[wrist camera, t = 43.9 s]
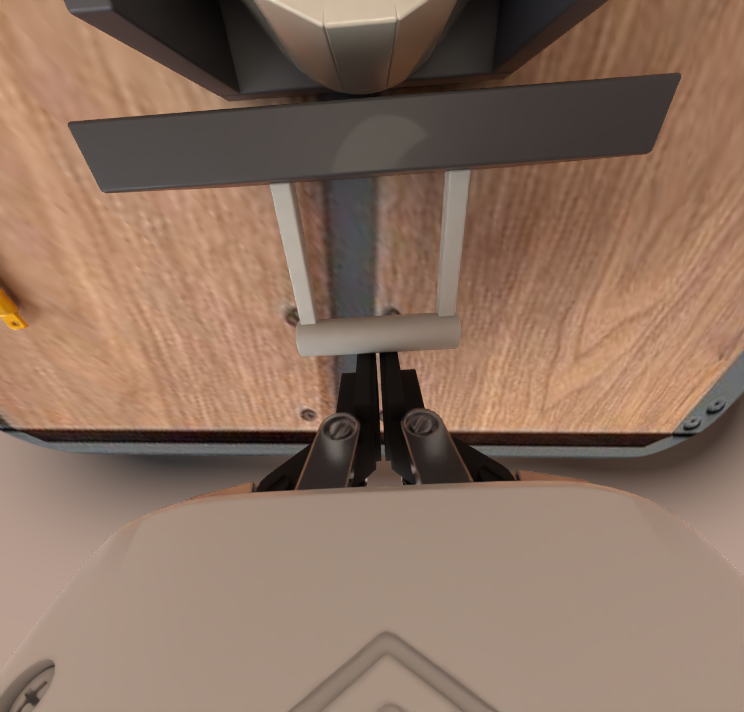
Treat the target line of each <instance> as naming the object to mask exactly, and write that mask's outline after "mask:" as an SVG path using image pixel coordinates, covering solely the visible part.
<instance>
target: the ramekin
mask: <svg viewBox="0 0 744 712" xmlns="http://www.w3.org/2000/svg"><path fill="white" fill-rule="evenodd" d="M241 1H242V2H243V3H244V5H245V6H246V8H247V9H248V10H249V12H250V13H251V14H252V16H253V17H254V19H255V20H256V21H257V23H258V24H259V26H260V27H261V28H262V30H263V31H264V32H265V33H266V34H267V35H268V36H269V37H270V39H271V40H272V41H273V42H274V43H275V44H276V46H277V47H278V48H279V49H280V51H281V52H282V53H283V54H284V56H285V57H286V58H287V59H288V60H289V61H290V62H291V63H292V64H293V65H294V66H295V67H296V68H297V69H298V70H300V71H301V72H302V73H304V74H305V75H306V76H308V77H309V78H310V79H312V80H313V81H315V82H317V83H319V84H321V85H322V86H324V87H327V88H329V89H332V90H335V91H338V92H342V93H348V94H370V93H376V92H380V91H383V90H386V89H388V88H391V87H393V86H395V85H397V84H399V83H401V82H402V81H404V80H406V79H407V78H408V77H410V76H411V75H412V74H414V73H415V72H416V71H418V70H419V69H420V68H421V67H422V66H423V65H424V64H425V63H426V62H427V61H428V60H429V59H430V57H431V56H432V55H433V53H434V52H435V51H436V50H437V48H438V47H439V46H440V45H441V43H442V42H443V40H444V38H445V37H446V35H447V34H448V32H449V30H450V29H451V27H452V25H453V24H454V22H455V21H456V20H457V18H458V17H459V15H460V14H461V12H462V11H463V9H464V7H465V5H466V4H467V2H468V0H241Z"/></svg>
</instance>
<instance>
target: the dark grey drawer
mask: <svg viewBox="0 0 744 712" xmlns="http://www.w3.org/2000/svg"><path fill="white" fill-rule="evenodd" d="M607 1H608V0H468V2H467V4H466V5H465V7H464V9H463V11H462V12H461V14H460V15H459V17H458V18H457V20H456V21H455V22H454V24H453V25H452V27H451V29H450V30H449V32H448V34H447V35H446V37H445V38H444V40H443V42H442V43H441V45H440V46H439V47H438V48H437V50H436V51H435V52H434V53H433V55H432V56H431V57H430V59H429V60H428V61H427V62H426V63H425V64H424V65H423V66H422V67H421V68H420V69H419V70H418V71H416V72H415V73H414V74H412V75H411V76H410V77H408V78H407V79H406V80H404V81H402V82H401V83H399V84H397V85H395V86H393V87H391V88H399V87H411V86H423V85H435V84H448V83H460V82H472V81H485V80H497V79H505V78H506V77H508V76H509V75H510V74H512V73H513V72H514V71H515V70H517V69H518V68H520V67H521V66H522V65H524V64H525V63H526V62H528V61H529V60H530V59H532V58H533V57H534V56H535V55H537V54H538V53H539V52H541V51H542V50H543V49H545V48H546V47H547V46H549V45H550V44H551V43H553V42H554V41H555V40H557V39H558V38H559V37H561V36H562V35H563V34H565V33H566V32H567V31H569V30H570V29H571V28H572V27H574V26H575V25H576V24H578V23H579V22H580V21H582V20H583V19H584V18H586V17H587V16H588V15H590V14H591V13H592V12H594V11H595V10H596V9H598V8H599V7H600V6H602V5H603V4H604V3H606V2H607ZM64 2H65V4H66V7H67V9H68V10H69V12H70V13H71V14H72V15H74V16H76V17H78V18H80V19H81V20H83V21H85V22H87V23H89V24H90V25H92V26H94V27H96V28H98V29H99V30H101V31H103V32H105V33H107V34H108V35H110V36H112V37H114V38H116V39H117V40H119V41H121V42H123V43H125V44H126V45H128V46H130V47H132V48H134V49H135V50H137V51H139V52H141V53H143V54H144V55H146V56H148V57H150V58H152V59H153V60H155V61H157V62H159V63H161V64H162V65H164V66H166V67H168V68H170V69H171V70H173V71H175V72H177V73H179V74H180V75H182V76H184V77H186V78H188V79H189V80H191V81H193V82H195V83H197V84H198V85H200V86H202V87H204V88H206V89H207V90H209V91H211V92H213V93H215V94H216V95H218V96H221V97H223V98H224V99H226V100H228V101H239V100H251V99H263V98H276V97H288V96H300V95H312V94H325V93H337V92H338V91H335V90H332V89H329V88H327V87H324V86H322V85H321V84H319V83H317V82H315V81H313V80H312V79H310V78H309V77H308V76H306V75H305V74H304V73H302V72H301V71H300V70H298V69H297V68H296V67H295V66H294V65H293V64H292V63H291V62H290V61H289V60H288V59H287V58H286V57H285V56H284V54H283V53H282V52H281V51H280V49H279V48H278V47H277V46H276V44H275V43H274V42H273V41H272V40H271V39H270V37H269V36H268V35H267V34H266V33H265V32H264V31H263V30H262V28H261V27H260V26H259V24H258V23H257V21H256V20H255V19H254V17H253V16H252V14H251V13H250V12H249V10H248V9H247V8H246V6H245V5H244V3H243V2H242V1H241V0H64ZM680 79H681V74H680V73H667V74H655V75H642V76H630V77H618V78H605V79H593V80H580V81H568V82H556V83H543V84H531V85H518V86H506V87H493V88H481V89H469V90H456V91H444V92H431V93H419V94H407V95H394V96H382V97H369V98H357V99H344V100H332V101H320V102H307V103H295V104H282V105H270V106H258V107H245V108H233V109H220V110H208V111H195V112H183V113H171V114H158V115H146V116H133V117H121V118H109V119H96V120H84V121H71V122H69V123H68V127H69V129H70V131H71V133H72V135H73V137H74V138H75V140H76V142H77V144H78V146H79V148H80V150H81V152H82V154H83V156H84V158H85V160H86V162H87V164H88V166H89V168H90V170H91V172H92V174H93V176H94V178H95V180H96V182H97V184H98V186H99V188H100V189H101V191H102V192H105V193H120V192H141V191H161V190H182V189H202V188H222V187H240V186H254V185H268V184H270V189H271V193H272V198H273V202H274V207H275V211H276V216H277V220H278V225H279V229H280V234H281V238H282V243H283V247H284V252H285V256H286V261H287V265H288V270H289V274H290V279H291V283H292V288H293V292H294V297H295V301H296V306H297V310H298V315H299V319H300V321H299V322H298V323H297V327H296V344H297V349H298V352H299V354H300V355H301V356H303V357H307V356H326V355H345V354H363V353H382V352H401V351H419V350H438V349H456V348H458V347H459V345H460V341H461V321H460V318H459V315H458V313H457V312H455V310H456V301H457V292H458V283H459V274H460V265H461V256H462V247H463V238H464V229H465V221H466V212H467V203H468V194H469V185H470V176H471V170H476V169H490V168H504V167H515V166H526V165H536V164H547V163H558V162H568V161H579V160H589V159H600V158H610V157H621V156H631V155H642V154H647V153H649V152H651V151H652V149H653V147H654V144H655V142H656V139H657V137H658V134H659V132H660V129H661V127H662V124H663V122H664V119H665V117H666V114H667V112H668V109H669V106H670V104H671V101H672V99H673V96H674V94H675V91H676V89H677V86H678V84H679V81H680ZM435 172H446V173H445V184H444V198H443V212H442V226H441V241H440V255H439V269H438V284H437V298H436V312H437V313H422V314H405V315H387V316H370V317H352V318H335V319H318V317H319V316H318V310H317V305H316V299H315V294H314V288H313V283H312V277H311V271H310V266H309V260H308V255H307V249H306V244H305V238H304V233H303V227H302V222H301V216H300V211H299V205H298V199H297V194H296V188H295V184H294V183H296V182H310V181H324V180H337V179H351V178H365V177H379V176H393V175H407V174H421V173H435Z"/></svg>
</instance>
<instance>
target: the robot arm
mask: <svg viewBox="0 0 744 712" xmlns="http://www.w3.org/2000/svg"><path fill="white" fill-rule="evenodd" d="M379 354H380V372H381V391H382V408H383V425H384V441H385V457H386V461H391V466H392V469H393V470H394V471H395V472H397V473H398V474H399V475H400V476H401V477H402V484H403V485H398V486H375V487H367V477H368V476H369V475H370V474H371V473H372V472H373V471H374V470H376V461H381V441H380V416H379V393H378V379H377V365H376V353H363V354H357V366H356V373H342V376H341V383H340V390H339V397H338V404H337V411H336V413H335V414H332V415H330V416H328V417H327V418H326V419H324V420H323V421H322V423H321V425H320V427H319V429H318V432H317V434H316V437H315V439H314V442H312V443H311V444H310V445H308V446H307V447H306V448H304V449H303V450H302V451H300V452H299V453H297V454H296V455H295V456H293V457H292V458H291V459H289V460H288V461H286V462H285V463H284V464H282V465H281V466H280V467H278V468H277V469H276V470H274V471H273V472H271V473H270V474H269V475H267V476H266V477H265V478H264V479H263V480H262V481H261V482H260V483H259V484H254V482H249V483H245V484H242V485H238V486H234V487H230V488H226V489H222V490H218V491H215V492H210V493H206V494H203V495H199V496H195V497H193V498H190V499H188V500H186V501H183V502H180V503H176V504H172V505H169V506H166V507H163V508H161V509H158V510H156V511H153V512H150V513H148V514H145V515H143V516H141V517H139V518H137V519H135V520H133V521H132V522H130V523H128V524H126V525H124V526H123V527H121V528H120V529H119V530H117V531H116V532H115V533H113V534H112V535H111V536H110V537H109V538H108V539H106V540H105V541H104V542H103V543H102V544H101V545H100V546H99V547H98V548H97V549H96V550H95V551H94V553H93V554H92V555H91V556H90V557H89V558H88V559H87V560H86V562H85V563H84V564H83V565H82V566H81V568H80V569H79V570H78V571H77V572H76V574H75V575H74V576H73V577H72V578H71V579H70V581H69V582H68V583H67V584H66V586H65V587H64V588H63V589H62V591H61V592H60V593H59V594H58V596H57V597H56V598H55V599H54V601H53V602H52V603H51V604H50V606H49V607H48V609H47V610H46V611H45V612H44V614H43V615H42V616H41V618H40V619H39V620H38V622H37V623H36V624H35V625H34V627H33V628H32V629H31V631H30V632H29V633H28V635H27V636H26V637H25V639H24V640H23V641H22V643H21V644H20V645H19V647H18V648H17V649H16V650H15V652H14V653H13V655H12V656H11V657H10V658H9V660H8V661H7V662H6V664H5V665H4V667H3V668H2V669H1V671H0V712H744V576H743V575H742V574H741V573H740V572H739V571H738V570H737V569H736V568H735V567H734V566H733V565H732V564H731V563H730V562H729V561H728V560H727V559H726V558H725V557H724V556H723V555H722V554H721V553H720V552H719V551H718V550H717V549H716V548H715V547H714V546H713V545H712V544H710V543H709V542H708V541H707V540H706V539H705V538H704V537H703V536H702V535H701V534H700V533H698V532H697V531H696V530H695V529H694V528H693V527H692V526H690V525H689V524H688V523H687V522H685V521H684V520H683V519H681V518H680V517H679V516H677V515H676V514H675V513H673V512H672V511H670V510H669V509H667V508H665V507H663V506H661V505H660V504H658V503H656V502H653V501H651V500H648V499H646V498H644V497H641V496H637V495H635V494H632V493H629V492H625V491H622V490H618V489H614V488H611V487H607V486H601V485H595V484H592V483H590V482H588V481H585V480H581V479H575V478H569V477H563V476H556V475H550V474H543V473H536V472H530V471H524V470H517V472H516V473H515V472H510V471H509V470H508V469H507V468H505V467H504V466H502V465H501V464H499V463H498V462H496V461H494V460H493V459H491V458H489V457H488V456H486V455H484V454H482V453H481V452H479V451H477V450H476V449H474V448H472V447H470V446H469V445H467V444H465V443H464V442H462V441H460V440H458V439H457V438H455V437H453V436H452V435H450V434H449V432H448V430H447V428H446V427H445V425H444V423H443V421H442V419H441V418H440V416H439V415H438V414H436V413H435V412H434V411H431V410H429V409H425V407H424V403H423V399H422V395H421V391H420V386H419V382H418V378H417V374H416V370H415V369H409V370H400V365H399V359H398V353H397V352H382V353H379Z"/></svg>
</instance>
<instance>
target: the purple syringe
mask: <svg viewBox="0 0 744 712" xmlns="http://www.w3.org/2000/svg"><path fill="white" fill-rule="evenodd" d="M18 310H19V309H18V307H17V306H16V305H15V304H14V303H13V302H12V300H11V299H10V298H9V297H8V296H7V295H6V293H5V292H4V291H3V290H2V289H1V288H0V317H1V318H2V319H3V320H4V321H5V323H6V324H7V325H8V326H9V327H10V328H11V329H12V330H16V329H22V328H27V327H28V324H27V323H26V322H25V321H24V320H23V319H22V318H21V316H20V315H19V314H18V312H17V311H18ZM14 321H15V322H17V323H18V324H19V325H17V324H15V323H14Z"/></svg>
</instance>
